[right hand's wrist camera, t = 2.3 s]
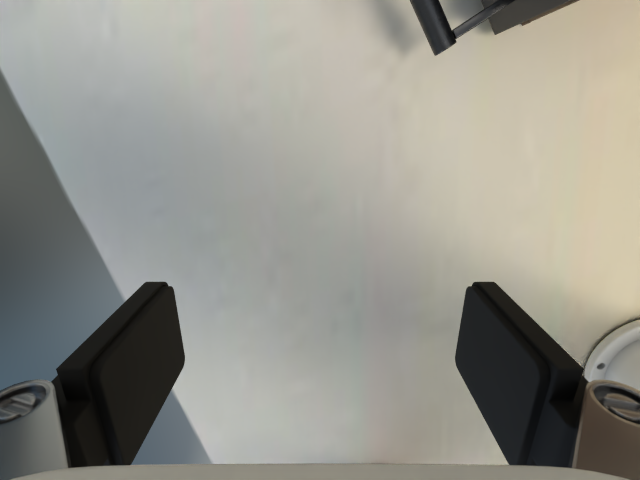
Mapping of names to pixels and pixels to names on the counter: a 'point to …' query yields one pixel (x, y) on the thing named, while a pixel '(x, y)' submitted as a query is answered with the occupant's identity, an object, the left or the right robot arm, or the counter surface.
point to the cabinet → (549, 11)
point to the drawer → (476, 18)
